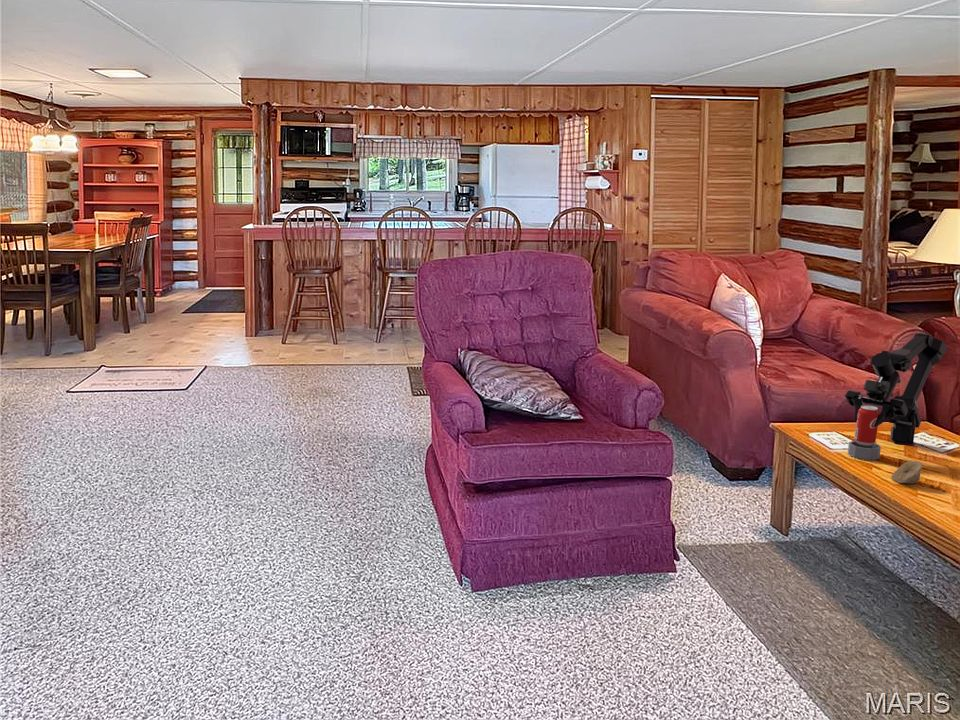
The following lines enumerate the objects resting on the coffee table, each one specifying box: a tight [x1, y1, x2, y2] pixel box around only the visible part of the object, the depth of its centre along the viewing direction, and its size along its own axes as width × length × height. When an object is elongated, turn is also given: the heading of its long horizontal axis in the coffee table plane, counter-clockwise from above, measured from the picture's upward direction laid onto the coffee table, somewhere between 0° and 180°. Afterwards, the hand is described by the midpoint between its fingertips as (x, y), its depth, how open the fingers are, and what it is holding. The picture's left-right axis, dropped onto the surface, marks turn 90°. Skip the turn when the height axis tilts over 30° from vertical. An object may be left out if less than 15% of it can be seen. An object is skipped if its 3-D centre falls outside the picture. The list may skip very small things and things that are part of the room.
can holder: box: [847, 440, 882, 461], centre depth 289 cm, size 9×9×4 cm
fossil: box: [890, 460, 923, 485], centre depth 264 cm, size 9×4×10 cm
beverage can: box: [854, 404, 881, 446], centre depth 288 cm, size 6×6×12 cm
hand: (865, 424), depth 287 cm, fingers closed on beverage can, 6 cm apart
